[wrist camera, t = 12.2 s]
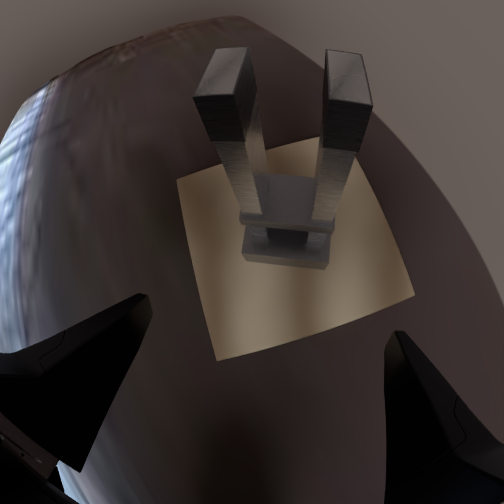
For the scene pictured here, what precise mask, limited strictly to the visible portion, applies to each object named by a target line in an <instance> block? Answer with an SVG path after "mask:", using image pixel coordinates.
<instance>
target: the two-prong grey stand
mask: <svg viewBox="0 0 504 504" xmlns="http://www.w3.org/2000/svg"><path fill="white" fill-rule="evenodd" d="M256 93H257V87H256V81H255V75H254V69H253V63H252V58H251V52H250V46H245V47H228V48H216V49H215V50H214V52H213V54H212V56H211V58H210V60H209V62H208V64H207V66H206V68H205V70H204V72H203V74H202V76H201V79H200V81H199V83H198V85H197V87H196V90H195V92H194V94H193V96H192V97H193V100H194V102H195V104H196V107H197V109H198V112H199V114H200V116H201V119H202V121H203V123H204V126H205V128H206V131H207V133H208V135H209V138H210V140H211V141H213V142H214V144H215V147H216V149H217V152H218V154H219V157H220V159H221V162H222V164H223V167H224V169H225V172H226V174H227V177H228V179H229V181H230V184H231V186H232V189H233V191H234V194H235V196H236V199H237V201H238V204H239V206H240V215H239V221H240V223H241V225H246V227H245V233H244V239H243V245H242V251H241V254H242V255H243V257H244V259H245V260H246V261H249V262H258V263H266V264H275V265H283V266H292V267H301V268H309V269H318V270H325V269H326V267H327V265H328V264H329V256H330V243H331V234H333V231H334V229H335V212H336V210H337V207H338V204H339V201H340V199H341V196H342V193H343V190H344V187H345V185H346V182H347V179H348V176H349V173H350V170H351V167H352V164H353V161H354V158H355V155H356V152H359V149H360V146H361V143H362V140H363V137H364V134H365V131H366V128H367V125H368V121H369V118H370V115H371V111H372V108H373V102H372V97H371V92H370V87H369V83H368V78H367V74H366V70H365V66H364V61H363V57H362V55H361V54H357V53H350V52H344V51H336V50H328V49H326V54H325V69H324V83H323V110H322V120H321V129H320V138H319V146H318V154H317V162H316V169H315V176H314V178H313V177H304V176H293V175H282V174H269V173H268V167H267V160H266V154H265V147H264V141H263V134H262V128H261V122H260V115H259V109H258V103H257V97H256Z"/></svg>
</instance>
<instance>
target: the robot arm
mask: <svg viewBox="0 0 504 504" xmlns="http://www.w3.org/2000/svg"><path fill="white" fill-rule="evenodd" d="M152 314H153V311H152V307H151V303H150V299H149V297H148V295H145V294H141V293H138V294H135V295H133V296H131V297H129V298H127V299H125V300H123V301H121V302H119V303H117V304H115V305H113V306H111V307H109V308H107V309H105V310H103V311H101V312H99V313H97V314H95V315H93V316H91V317H90V318H88V319H86V320H84V321H82V322H80V323H78V324H76V325H74V326H72V327H70V328H68V329H66V330H64V331H62V332H60V333H58V334H56V335H54V336H52V337H50V338H48V339H45V340H43V341H41V342H39V343H36V344H34V345H31V346H29V347H27V348H24V349H22V350H19V351H17V352H14V353H0V504H79V503H78V502H76V501H75V500H73V499H72V498H70V497H69V496H68V495H66V494H65V493H64V492H65V491H64V488H63V485H62V482H61V478H60V475H59V471H58V468H57V466H56V465H57V463H58V461H59V460H60V461H62V462H63V463H65V464H66V465H68V466H69V467H71V468H73V469H74V470H76V471H77V472H79V473H80V472H81V471H82V469H83V466H84V464H85V461H86V459H87V457H88V454H89V452H90V450H91V447H92V445H93V443H94V441H95V438H96V436H97V434H98V431H99V429H100V427H101V425H102V423H103V421H104V418H105V416H106V414H107V412H108V410H109V408H110V406H111V404H112V402H113V399H114V397H115V395H116V393H117V391H118V389H119V387H120V385H121V383H122V381H123V379H124V377H125V375H126V373H127V371H128V369H129V367H130V365H131V364H132V362H133V360H134V358H135V356H136V354H137V352H138V350H139V348H140V345H141V343H142V341H143V338H144V336H145V333H146V331H147V328H148V326H149V323H150V321H151V318H152ZM384 396H385V412H386V485H385V489H386V490H385V498H384V504H504V444H503V443H501V442H499V441H498V440H497V439H496V438H495V437H494V436H493V435H492V434H491V432H490V431H489V430H488V429H487V428H486V427H485V426H484V425H483V424H482V423H481V421H480V420H479V419H478V418H477V417H476V416H475V415H474V414H473V413H472V411H471V410H470V409H469V408H468V407H467V405H466V404H465V403H464V402H463V400H462V399H461V398H460V396H459V395H457V393H456V392H455V390H454V389H453V388H452V387H451V385H450V384H449V383H448V382H447V380H446V379H445V378H444V377H443V375H442V374H441V373H440V372H439V371H438V369H437V368H436V367H435V366H434V365H433V363H432V362H431V361H430V360H429V359H428V358H427V356H426V355H425V354H424V353H423V352H422V351H421V349H420V348H419V347H418V346H417V345H416V344H415V343H414V341H413V340H412V339H411V338H410V337H409V336H408V335H407V334H406V332H404V331H398V330H395V331H393V332H392V334H391V336H390V338H389V340H388V342H387V344H386V346H385V351H384Z"/></svg>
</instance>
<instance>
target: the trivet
mask: <svg viewBox="0 0 504 504" xmlns="http://www.w3.org/2000/svg"><path fill="white" fill-rule="evenodd" d="M319 138H320V137H316V138H312V139H307V140H303V141H299V142H295V143H291V144H287V145H283V146H280V147H276V148H272V149H269V150H265V154H266V160H267V167H268V173H269V174H282V175H293V176H304V177H313V178H314V176H315V169H316V162H317V154H318V146H319ZM177 186H178V192H179V198H180V203H181V209H182V214H183V219H184V225H185V230H186V235H187V240H188V245H189V249H190V254H191V259H192V263H193V268H194V272H195V277H196V281H197V286H198V290H199V294H200V298H201V302H202V307H203V311H204V315H205V319H206V322H207V326H208V330H209V334H210V338H211V341H212V345H213V349H214V352H215V356H216V360H217V361H220V360H224V359H228V358H232V357H236V356H240V355H244V354H248V353H252V352H256V351H260V350H263V349H267V348H271V347H274V346H278V345H281V344H284V343H288V342H291V341H294V340H298V339H301V338H304V337H307V336H310V335H313V334H316V333H319V332H322V331H325V330H328V329H331V328H334V327H337V326H340V325H342V324H345V323H348V322H351V321H353V320H356V319H359V318H361V317H364V316H366V315H369V314H372V313H374V312H377V311H379V310H381V309H384V308H386V307H389V306H391V305H394V304H396V303H398V302H401V301H403V300H405V299H407V298H410V297H412V296H414V295H415V294H414V291H413V288H412V285H411V282H410V279H409V276H408V273H407V270H406V267H405V265H404V262H403V259H402V257H401V254H400V251H399V249H398V246H397V244H396V241H395V239H394V236H393V234H392V232H391V229H390V227H389V225H388V222H387V220H386V218H385V216H384V213H383V211H382V209H381V207H380V205H379V202H378V200H377V198H376V196H375V194H374V192H373V190H372V188H371V186H370V184H369V182H368V180H367V178H366V176H365V174H364V172H363V170H362V168H361V167H360V165H359V163H358V161H357V159H356V157H355V158H354V161H353V164H352V167H351V170H350V173H349V176H348V179H347V182H346V185H345V187H344V190H343V193H342V196H341V199H340V201H339V204H338V207H337V210H336V212H335V229H334V231H333V234H331V243H330V256H329V264H328V265H327V267H326V269H325V270H318V269H309V268H301V267H292V266H283V265H275V264H266V263H258V262H249V261H246V260H245V259H244V257H243V255H242V254H241V251H242V245H243V239H244V233H245V227H246V225H241V223H240V221H239V215H240V206H239V204H238V201H237V199H236V196H235V194H234V191H233V189H232V186H231V184H230V181H229V179H228V177H227V174H226V172H225V169H224V167H223V164H219V165H216V166H213V167H210V168H207V169H204V170H202V171H199V172H196V173H193V174H190V175H187V176H185V177H182V178H179V179H177Z"/></svg>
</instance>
